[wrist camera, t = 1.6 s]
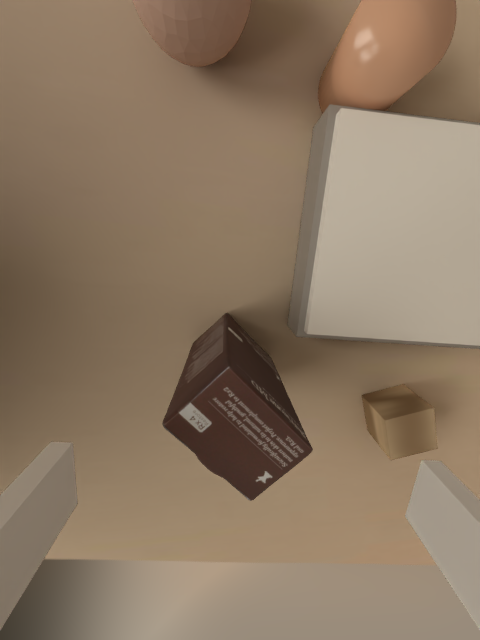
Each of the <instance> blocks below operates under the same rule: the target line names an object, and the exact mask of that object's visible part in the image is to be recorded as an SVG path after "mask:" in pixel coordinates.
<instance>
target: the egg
mask: <svg viewBox="0 0 480 640" xmlns="http://www.w3.org/2000/svg"><path fill="white" fill-rule="evenodd" d="M251 2H252V0H133V3H134V5H135V8H136V10H137V12H138V15H139V17H140V19H141V21H142V23H143V24H144V26H145V27H146V29H147V30H148V32H149V33H150V35H151V36H152V38H153V39H154V40H155V42H156V43H157V44H158V45H159V46H160V47H161V49H162V50H163V51H165V52H166V53H167V54H168V55H169V56H171V57H172V58H174V59H176V60H178V61H179V62H181V63H183V64H186V65H189V66H197V67H203V66H207V65H210V64H213V63H215V62H217V61H218V60H220V59H222V58H223V57H225V56H226V55H227V53H228V52H229V51H230V50H231V49H232V48H233V47H234V45H235V44H236V43H237V41H238V39H239V37H240V35H241V33H242V31H243V29H244V26H245V24H246V21H247V18H248V15H249V12H250V7H251Z"/></svg>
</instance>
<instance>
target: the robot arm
mask: <svg viewBox="0 0 480 640" xmlns="http://www.w3.org/2000/svg"><path fill="white" fill-rule="evenodd" d="M77 504H78V502H77V490H76V477H75V464H74V451H73V443H71V442H50V443H49V444H48V445H47V446H46V447H45V448H44V449H43V450H42V452H41V453H40V454H39V455H38V456H37V457H36V458H35V459H34V460H33V461H32V462H31V463H30V464H29V465H28V466H27V467H26V468H25V469H24V470H23V472H22V473H21V474H20V475H19V476H18V477H17V478H16V479H15V480H14V481H13V482H12V483H11V484H10V485H9V486H8V487H7V488H6V489H5V490H4V492H3V493H2V494H1V495H0V630H1V628H2V626H3V625H4V623H5V622H6V620H7V618H8V616H9V615H10V613H11V612H12V610H13V609H14V607H15V605H16V604H17V602H18V600H19V599H20V597H21V595H22V594H23V592H24V590H25V589H26V587H27V586H28V584H29V582H30V581H31V579H32V577H33V576H34V574H35V572H36V571H37V569H38V568H39V566H40V564H41V563H42V561H43V559H44V558H45V556H46V554H47V553H48V551H49V550H50V548H51V546H52V545H53V543H54V541H55V540H56V538H57V536H58V535H59V533H60V532H61V530H62V528H63V527H64V525H65V523H66V522H67V520H68V518H69V517H70V515H71V514H72V512H73V510H74V509H75V507H76V505H77ZM405 517H406V518H407V520H408V521H409V523H410V525H411V526H412V528H413V529H414V531H415V532H416V534H417V535H418V537H419V538H420V540H421V541H422V543H423V544H424V546H425V547H426V549H427V550H428V552H429V554H430V555H431V557H432V558H433V560H434V561H435V563H436V564H437V566H438V567H439V569H440V570H441V572H442V573H443V575H444V576H445V578H446V579H447V581H448V583H449V584H450V586H451V587H452V589H453V590H454V592H455V593H456V595H457V596H458V598H459V599H460V601H461V602H462V604H463V605H464V607H465V608H466V610H467V611H468V613H469V615H470V616H471V618H472V619H473V620H474V622H475V624H476V625H477V627H478V628H479V630H480V500H479V499H478V498H477V497H476V496H475V495H474V494H473V493H472V492H471V491H470V490H469V489H468V488H467V487H466V486H465V485H464V484H463V483H462V482H461V481H460V480H459V479H458V478H457V477H456V476H455V475H454V474H453V473H452V472H451V471H450V470H449V469H448V468H447V467H446V466H445V465H444V464H443V463H442V462H441V461H433V460H422V461H421V464H420V467H419V471H418V474H417V478H416V481H415V484H414V488H413V491H412V494H411V498H410V501H409V505H408V508H407V511H406V515H405Z"/></svg>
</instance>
